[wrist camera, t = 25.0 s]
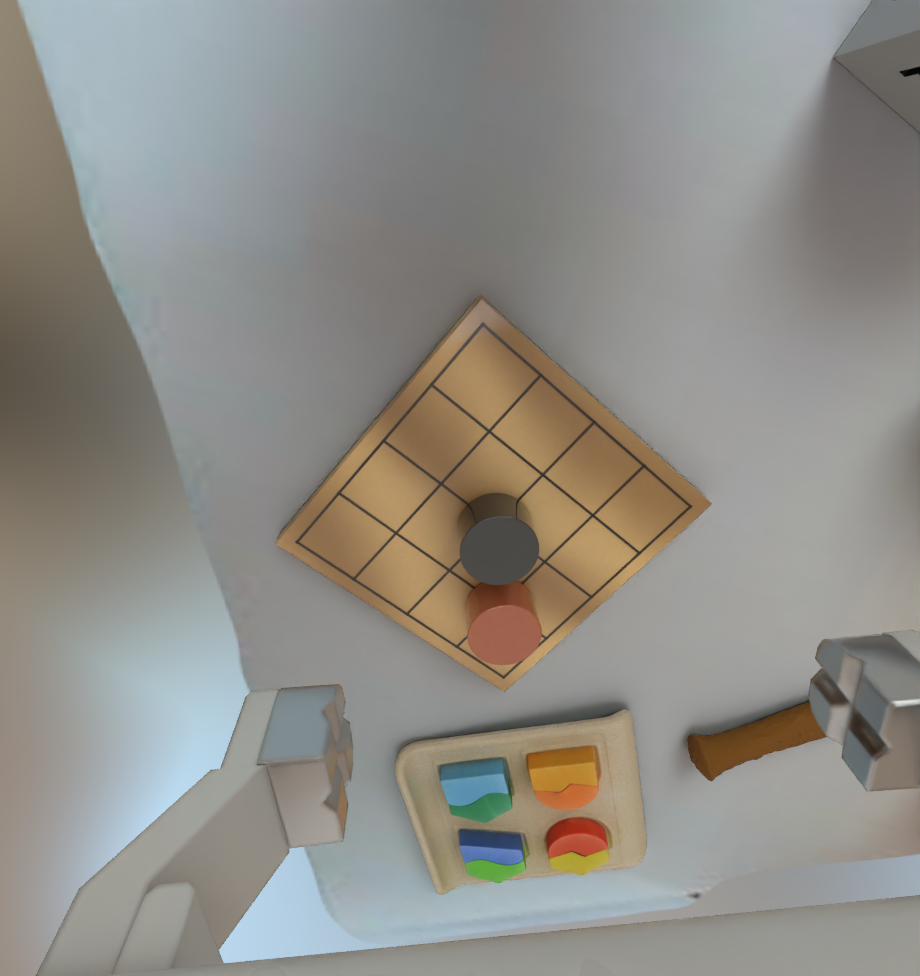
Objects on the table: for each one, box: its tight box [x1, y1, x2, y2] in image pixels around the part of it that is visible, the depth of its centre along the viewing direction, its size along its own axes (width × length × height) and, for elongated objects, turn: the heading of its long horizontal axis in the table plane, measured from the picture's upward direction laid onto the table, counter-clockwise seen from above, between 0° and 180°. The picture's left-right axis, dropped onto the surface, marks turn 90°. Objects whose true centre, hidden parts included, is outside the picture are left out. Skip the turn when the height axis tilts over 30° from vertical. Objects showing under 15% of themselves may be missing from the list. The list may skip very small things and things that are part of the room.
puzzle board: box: [395, 709, 647, 895], centre depth 52 cm, size 18×19×3 cm
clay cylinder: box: [465, 581, 542, 665], centre depth 43 cm, size 5×5×3 cm
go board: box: [276, 296, 711, 692], centre depth 42 cm, size 20×20×1 cm
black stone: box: [457, 493, 539, 585], centre depth 40 cm, size 5×5×3 cm
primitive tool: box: [688, 701, 827, 781], centre depth 50 cm, size 19×6×4 cm, turn 110°
